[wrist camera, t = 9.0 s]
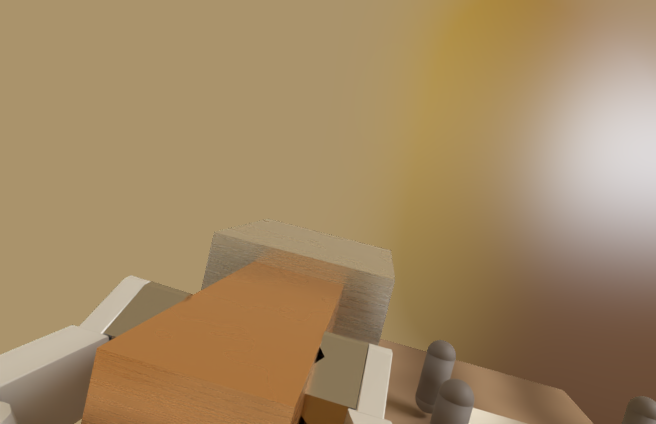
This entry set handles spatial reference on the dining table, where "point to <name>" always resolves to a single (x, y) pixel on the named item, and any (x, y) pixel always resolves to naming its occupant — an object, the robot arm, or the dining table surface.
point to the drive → (244, 331)
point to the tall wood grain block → (478, 393)
